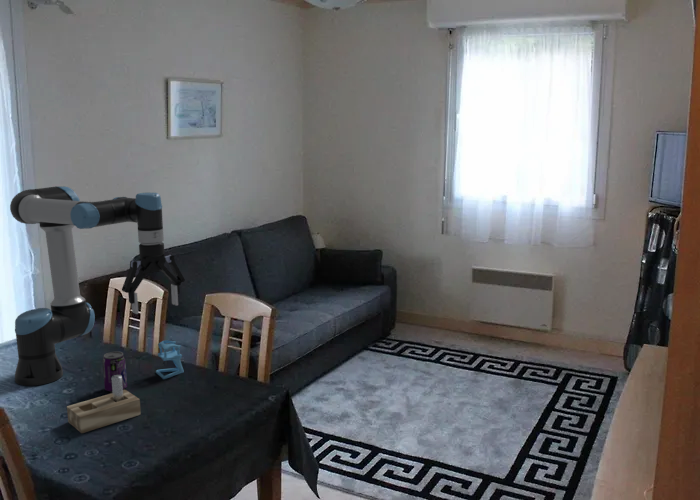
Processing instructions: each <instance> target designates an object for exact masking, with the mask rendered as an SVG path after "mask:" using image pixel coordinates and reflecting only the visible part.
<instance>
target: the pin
mask: <svg viewBox="0 0 700 500" xmlns="http://www.w3.org/2000/svg"><path fill="white" fill-rule="evenodd" d="M111 380H112V392H111V393H113V401H115V402H119V401H122V400H124V398H123V390H124V389H123V385H122V375H114V376H112V377H111Z"/></svg>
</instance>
